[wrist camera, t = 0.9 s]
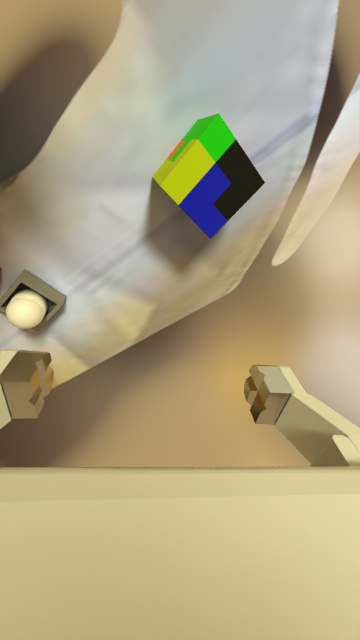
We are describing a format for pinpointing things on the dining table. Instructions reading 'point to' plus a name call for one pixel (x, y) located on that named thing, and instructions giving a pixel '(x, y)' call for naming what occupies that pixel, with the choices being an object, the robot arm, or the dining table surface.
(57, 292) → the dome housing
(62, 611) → the robot arm
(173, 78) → the dining table surface
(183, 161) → the puzzle toy
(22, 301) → the dome
